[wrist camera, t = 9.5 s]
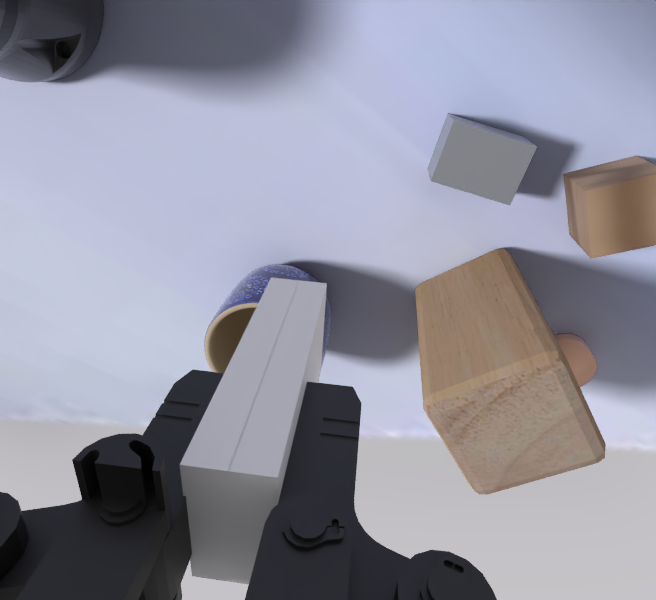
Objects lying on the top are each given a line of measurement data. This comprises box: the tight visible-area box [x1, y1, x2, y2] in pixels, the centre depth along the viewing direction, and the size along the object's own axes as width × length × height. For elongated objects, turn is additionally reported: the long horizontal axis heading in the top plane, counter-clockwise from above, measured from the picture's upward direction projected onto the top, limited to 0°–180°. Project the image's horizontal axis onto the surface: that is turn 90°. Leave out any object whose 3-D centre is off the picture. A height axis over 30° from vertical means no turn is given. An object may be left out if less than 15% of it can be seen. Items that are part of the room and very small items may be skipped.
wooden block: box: [415, 248, 605, 494], centre depth 43 cm, size 10×10×20 cm
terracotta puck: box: [554, 333, 597, 387], centre depth 52 cm, size 5×5×3 cm
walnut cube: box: [564, 156, 656, 258], centre depth 43 cm, size 6×6×6 cm
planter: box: [204, 265, 331, 373], centre depth 49 cm, size 11×11×11 cm
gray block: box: [428, 113, 537, 205], centre depth 43 cm, size 7×5×5 cm
